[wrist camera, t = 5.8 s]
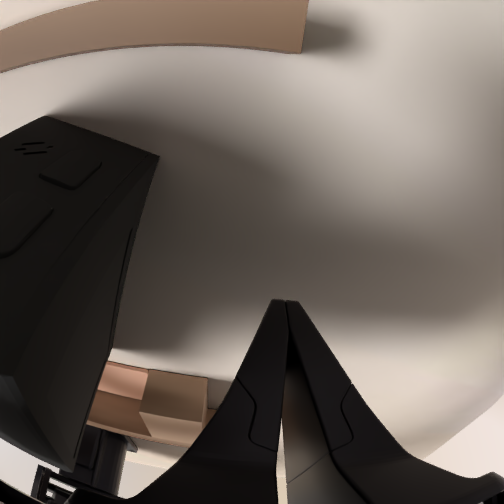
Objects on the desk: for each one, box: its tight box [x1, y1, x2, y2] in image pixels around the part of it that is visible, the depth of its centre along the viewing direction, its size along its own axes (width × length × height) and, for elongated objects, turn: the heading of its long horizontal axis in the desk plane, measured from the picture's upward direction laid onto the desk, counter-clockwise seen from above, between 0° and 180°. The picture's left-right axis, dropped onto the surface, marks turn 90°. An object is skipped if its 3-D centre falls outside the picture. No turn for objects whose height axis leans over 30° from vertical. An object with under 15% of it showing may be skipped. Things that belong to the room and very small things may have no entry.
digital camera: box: [0, 116, 160, 473], centre depth 7 cm, size 10×5×7 cm, turn 155°
